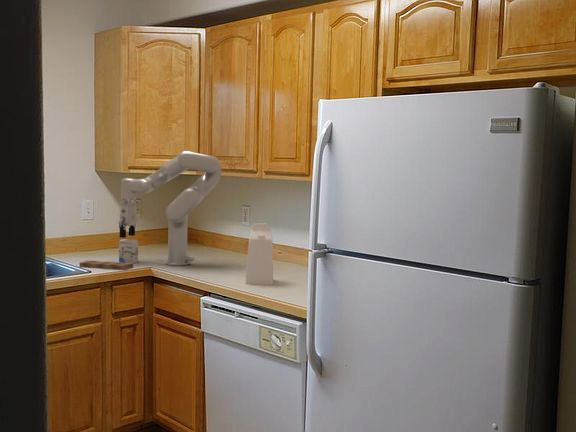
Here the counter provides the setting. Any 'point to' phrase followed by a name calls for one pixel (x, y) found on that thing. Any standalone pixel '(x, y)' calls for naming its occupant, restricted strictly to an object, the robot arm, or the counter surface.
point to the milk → (260, 255)
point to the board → (106, 265)
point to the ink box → (128, 251)
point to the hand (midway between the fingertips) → (127, 236)
